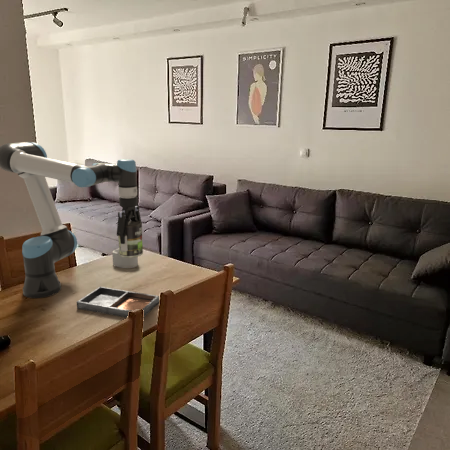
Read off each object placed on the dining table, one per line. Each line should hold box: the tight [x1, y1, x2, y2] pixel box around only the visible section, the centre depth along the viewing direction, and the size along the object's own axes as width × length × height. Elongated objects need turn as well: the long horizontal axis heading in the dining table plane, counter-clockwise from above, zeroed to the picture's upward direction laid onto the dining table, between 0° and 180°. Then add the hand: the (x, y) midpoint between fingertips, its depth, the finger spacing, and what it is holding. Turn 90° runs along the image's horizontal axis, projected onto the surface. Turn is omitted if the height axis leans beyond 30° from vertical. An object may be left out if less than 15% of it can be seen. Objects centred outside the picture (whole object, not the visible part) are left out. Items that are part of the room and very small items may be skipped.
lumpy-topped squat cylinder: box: [111, 247, 139, 269], centre depth 201 cm, size 10×13×9 cm
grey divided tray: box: [76, 286, 160, 318], centre depth 157 cm, size 28×16×3 cm, turn 73°
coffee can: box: [116, 219, 144, 258], centre depth 167 cm, size 10×10×14 cm
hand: (130, 246), depth 168 cm, fingers closed on coffee can, 10 cm apart
